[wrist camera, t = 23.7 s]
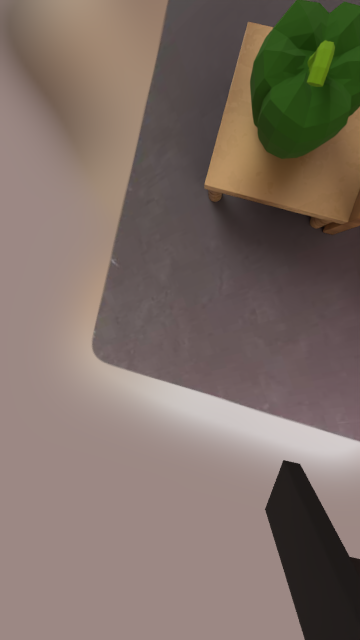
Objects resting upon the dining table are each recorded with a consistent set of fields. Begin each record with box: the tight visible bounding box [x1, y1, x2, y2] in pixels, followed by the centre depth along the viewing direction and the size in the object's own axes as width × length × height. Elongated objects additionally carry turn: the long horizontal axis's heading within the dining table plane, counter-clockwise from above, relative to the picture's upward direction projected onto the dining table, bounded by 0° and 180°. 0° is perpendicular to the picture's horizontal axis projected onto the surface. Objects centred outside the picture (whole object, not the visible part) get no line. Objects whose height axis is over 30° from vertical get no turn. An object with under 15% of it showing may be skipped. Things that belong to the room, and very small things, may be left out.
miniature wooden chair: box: [205, 22, 360, 235], centre depth 26 cm, size 15×14×12 cm
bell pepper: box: [250, 0, 360, 159], centre depth 21 cm, size 8×8×10 cm
